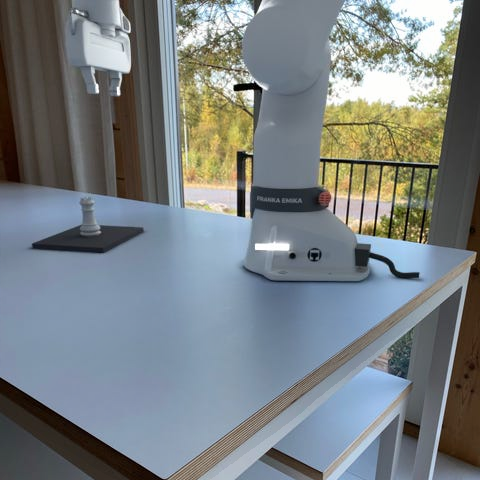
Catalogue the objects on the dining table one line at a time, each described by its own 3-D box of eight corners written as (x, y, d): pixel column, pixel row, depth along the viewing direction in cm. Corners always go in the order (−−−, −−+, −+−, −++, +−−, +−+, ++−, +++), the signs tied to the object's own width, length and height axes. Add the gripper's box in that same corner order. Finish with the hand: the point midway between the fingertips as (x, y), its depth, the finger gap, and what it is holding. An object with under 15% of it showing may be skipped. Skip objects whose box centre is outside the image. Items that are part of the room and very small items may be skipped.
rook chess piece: (100, 232, 107) (96, 195, 104) (102, 236, 103) (97, 198, 100) (80, 233, 106) (75, 196, 103) (80, 237, 102) (75, 199, 99)
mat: (143, 231, 112) (143, 227, 112) (103, 252, 94) (103, 247, 94) (82, 228, 116) (81, 224, 115) (32, 248, 98) (31, 243, 97)
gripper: (84, 3, 82) (93, 92, 87) (133, 25, 100) (139, 97, 106) (51, 5, 83) (62, 92, 89) (106, 26, 102) (113, 97, 107)
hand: (104, 95), depth 97 cm, fingers open, 8 cm apart
